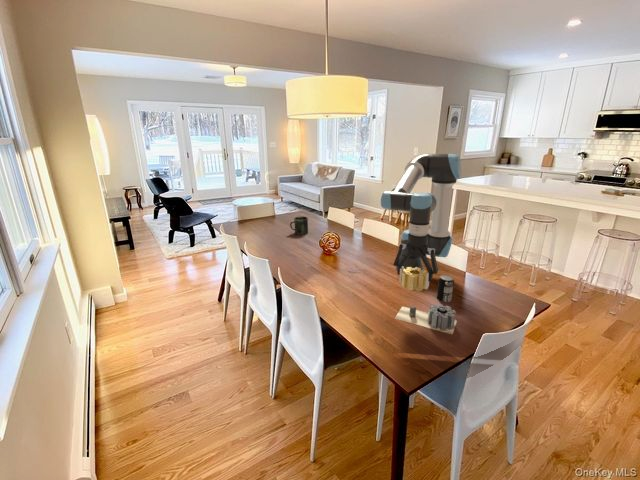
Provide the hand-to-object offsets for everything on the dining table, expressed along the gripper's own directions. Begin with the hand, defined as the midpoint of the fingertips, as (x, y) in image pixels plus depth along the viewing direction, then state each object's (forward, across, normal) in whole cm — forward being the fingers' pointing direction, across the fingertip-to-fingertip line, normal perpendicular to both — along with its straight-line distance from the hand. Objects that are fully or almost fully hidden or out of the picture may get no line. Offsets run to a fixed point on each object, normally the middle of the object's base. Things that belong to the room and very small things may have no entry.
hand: (413, 284), depth 131 cm
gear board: (+16, +6, 0) cm, 17 cm away
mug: (+16, -109, +75) cm, 133 cm away
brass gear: (0, 0, 0) cm, 0 cm away
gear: (+15, +12, 0) cm, 19 cm away
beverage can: (+16, +9, +22) cm, 29 cm away
